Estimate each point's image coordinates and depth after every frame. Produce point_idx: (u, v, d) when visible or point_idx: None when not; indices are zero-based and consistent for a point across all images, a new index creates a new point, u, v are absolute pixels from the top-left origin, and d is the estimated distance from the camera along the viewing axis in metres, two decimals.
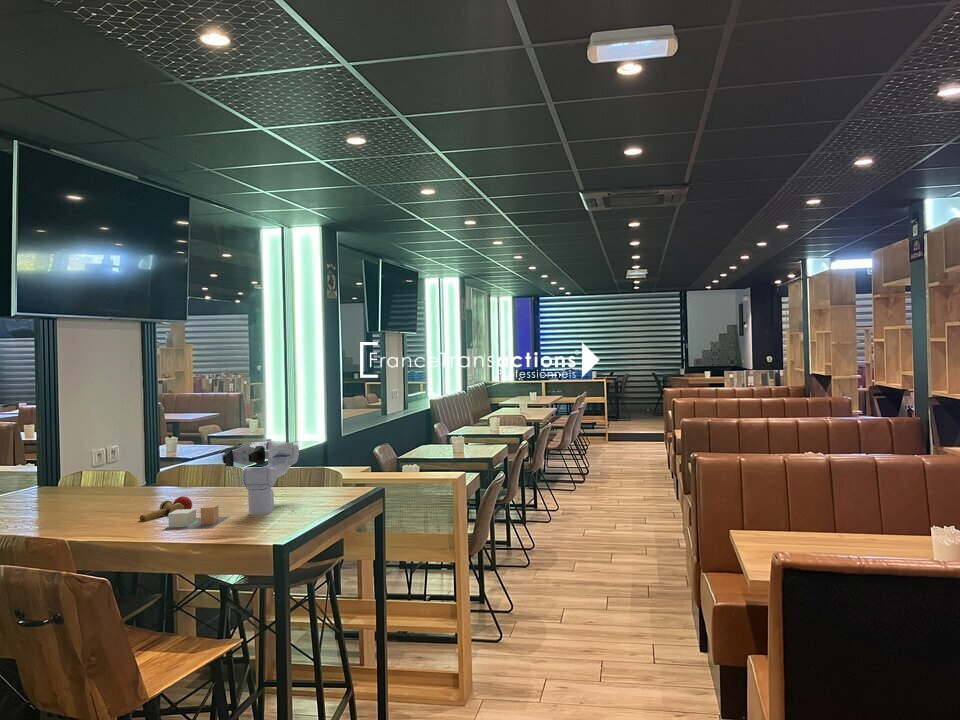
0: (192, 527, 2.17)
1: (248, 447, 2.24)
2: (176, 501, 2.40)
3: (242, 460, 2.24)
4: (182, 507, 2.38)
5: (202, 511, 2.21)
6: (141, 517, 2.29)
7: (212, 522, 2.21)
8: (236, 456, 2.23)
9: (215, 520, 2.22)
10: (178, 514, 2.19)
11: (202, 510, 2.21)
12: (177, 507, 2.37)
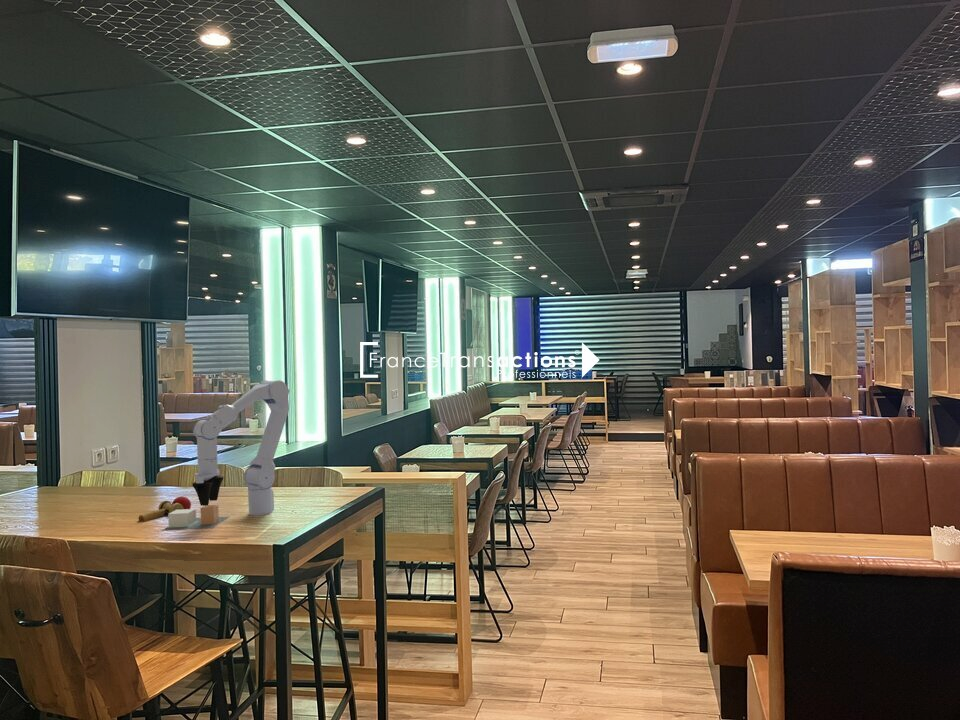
0: (192, 527, 2.17)
1: None
2: (175, 501, 2.40)
3: None
4: (181, 507, 2.38)
5: (202, 511, 2.21)
6: (140, 517, 2.29)
7: (212, 522, 2.21)
8: None
9: (215, 520, 2.22)
10: (178, 514, 2.19)
11: (202, 510, 2.21)
12: (176, 507, 2.37)
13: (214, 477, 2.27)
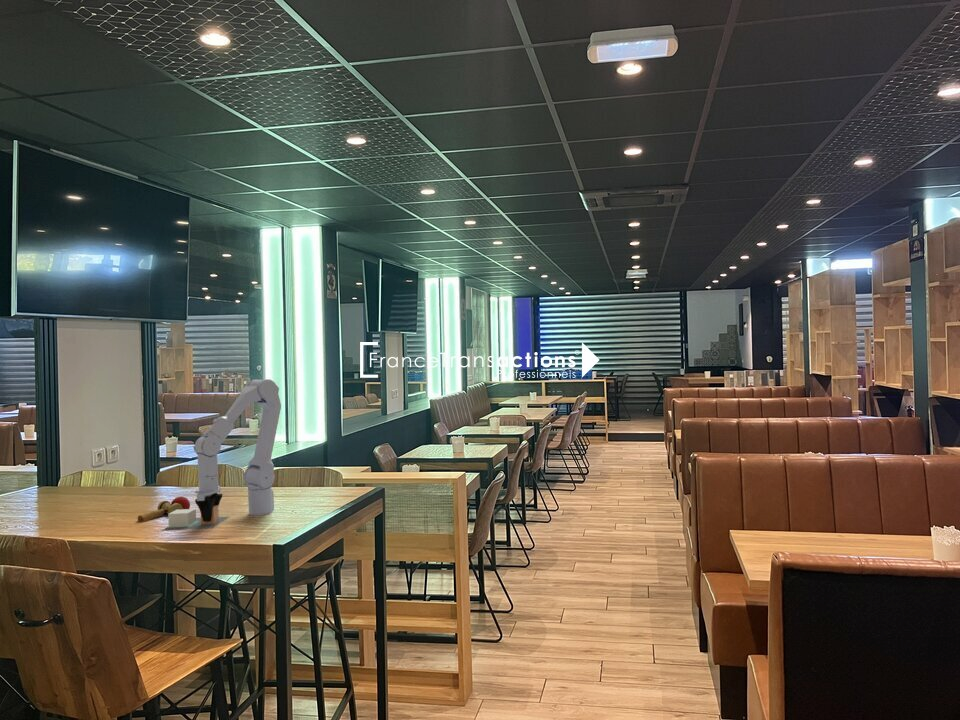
0: (192, 527, 2.17)
1: None
2: (174, 501, 2.40)
3: None
4: (180, 507, 2.38)
5: None
6: (139, 517, 2.29)
7: (212, 522, 2.21)
8: None
9: (215, 520, 2.22)
10: (178, 514, 2.19)
11: None
12: (175, 507, 2.37)
13: None
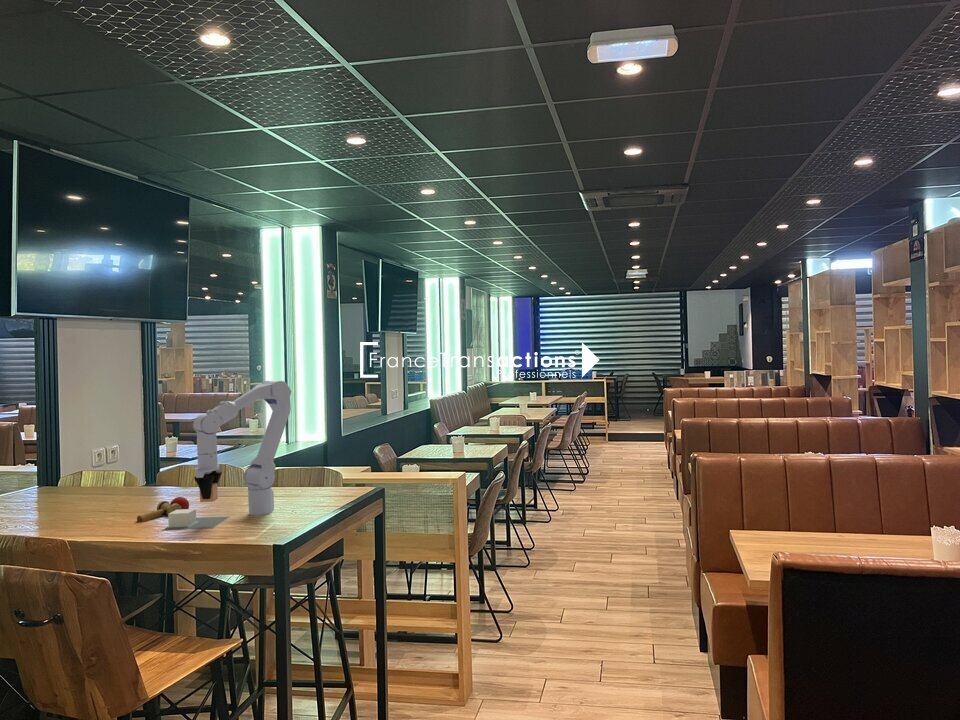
0: (192, 527, 2.17)
1: None
2: (173, 502, 2.39)
3: None
4: (179, 508, 2.38)
5: None
6: (138, 518, 2.29)
7: (211, 500, 2.21)
8: None
9: (214, 498, 2.22)
10: (178, 514, 2.19)
11: None
12: (174, 508, 2.36)
13: None
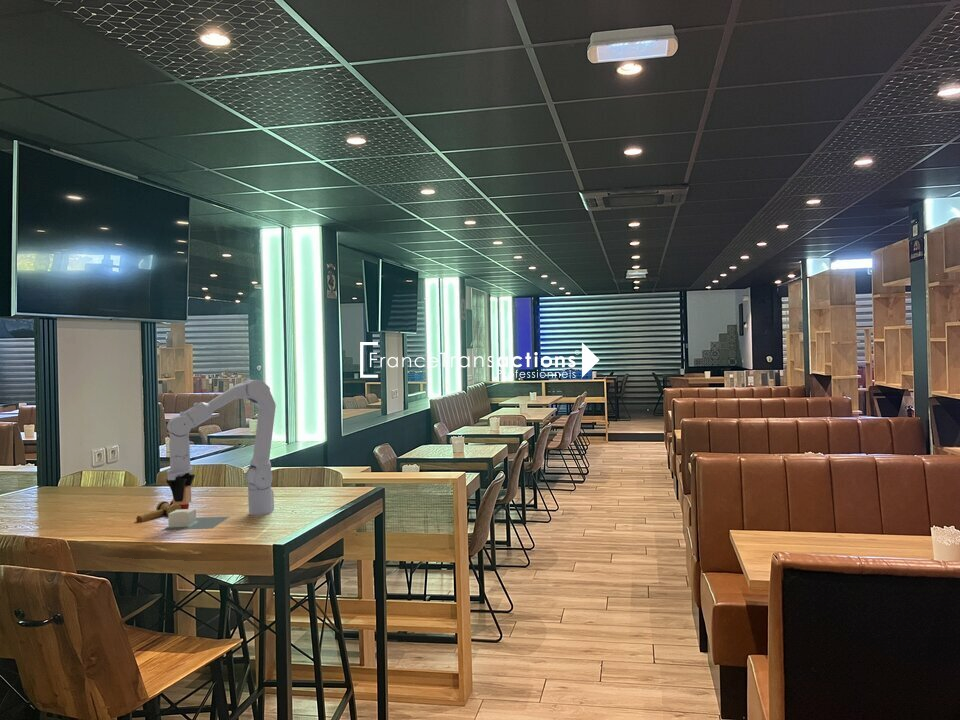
0: (192, 527, 2.17)
1: None
2: None
3: None
4: (179, 508, 2.37)
5: None
6: (138, 518, 2.29)
7: (184, 502, 2.20)
8: None
9: (187, 500, 2.21)
10: (178, 514, 2.19)
11: None
12: (174, 508, 2.36)
13: None
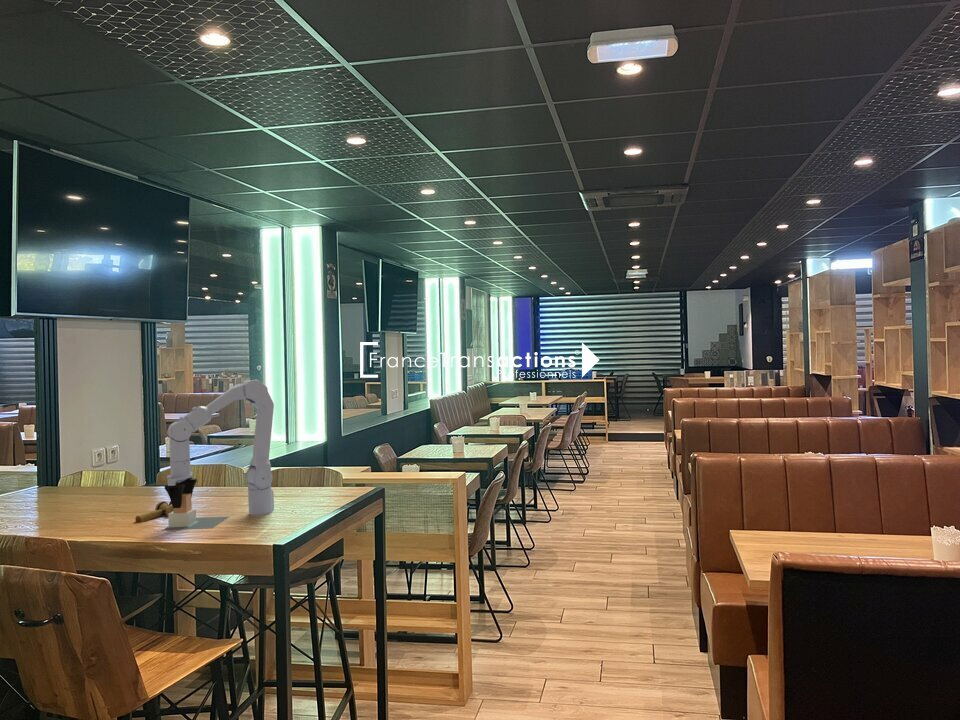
0: (192, 527, 2.17)
1: None
2: None
3: None
4: None
5: None
6: (137, 518, 2.28)
7: (184, 511, 2.20)
8: None
9: (188, 509, 2.21)
10: (178, 514, 2.19)
11: None
12: None
13: (187, 479, 2.26)
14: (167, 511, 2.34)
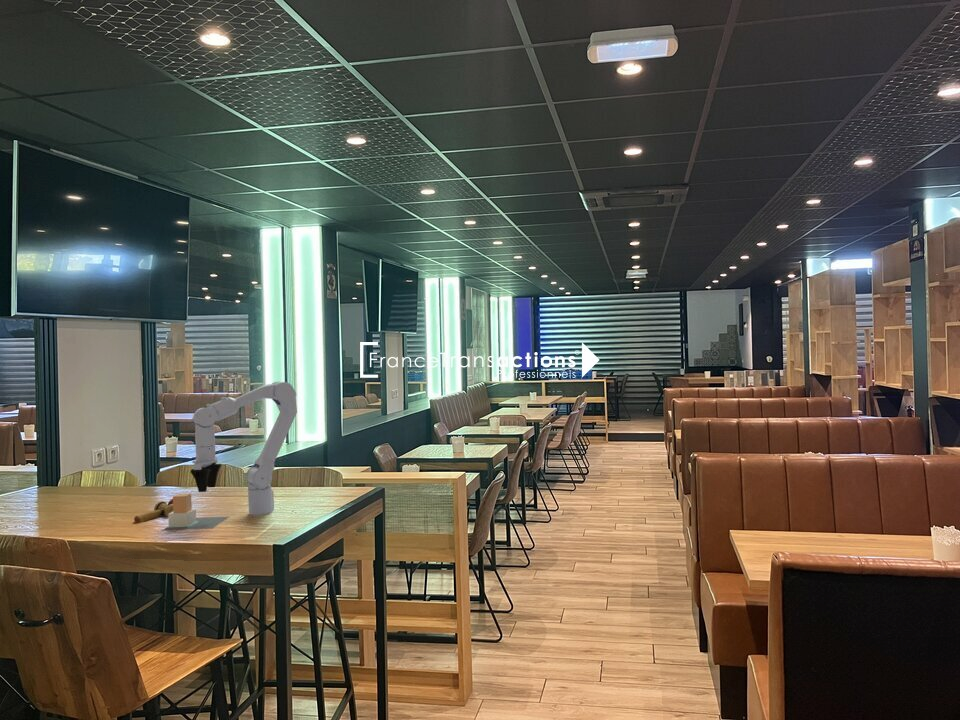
0: (192, 527, 2.17)
1: None
2: (171, 502, 2.39)
3: None
4: None
5: (174, 500, 2.20)
6: (136, 518, 2.28)
7: (184, 511, 2.20)
8: (209, 464, 2.30)
9: (188, 509, 2.21)
10: (178, 514, 2.19)
11: (174, 499, 2.20)
12: (172, 508, 2.36)
13: (212, 464, 2.31)
14: (166, 511, 2.34)
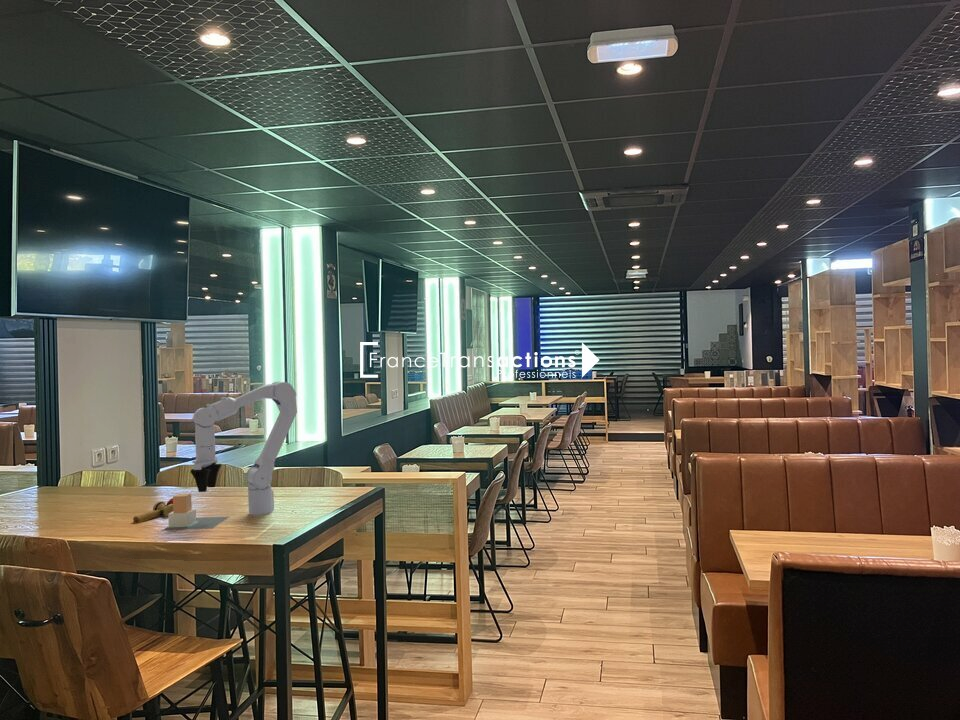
0: (192, 527, 2.17)
1: None
2: (170, 502, 2.38)
3: None
4: None
5: (174, 500, 2.20)
6: (135, 518, 2.28)
7: (184, 511, 2.20)
8: (209, 464, 2.30)
9: (188, 509, 2.21)
10: (178, 514, 2.19)
11: (174, 499, 2.20)
12: (171, 508, 2.36)
13: (212, 464, 2.31)
14: (165, 511, 2.33)
